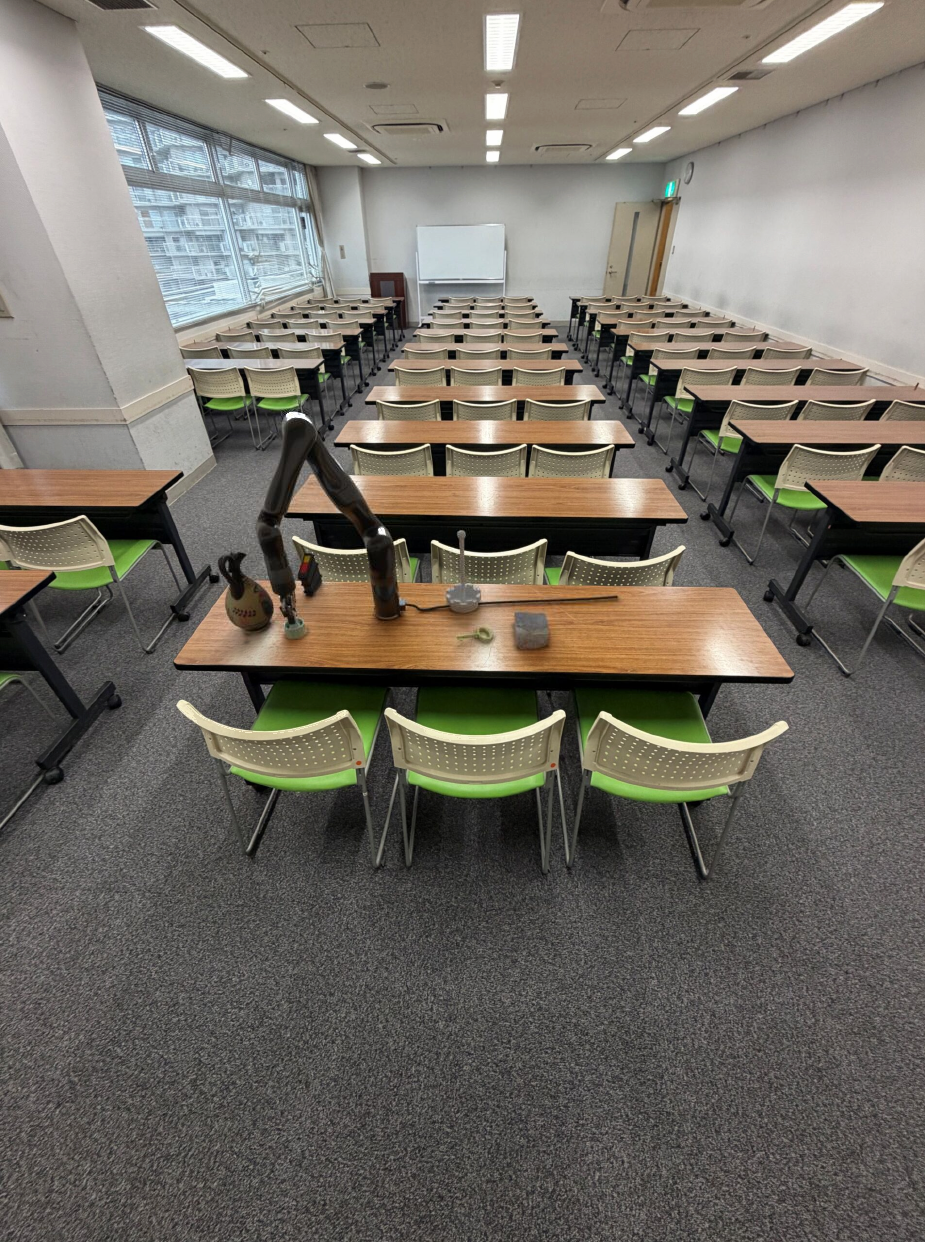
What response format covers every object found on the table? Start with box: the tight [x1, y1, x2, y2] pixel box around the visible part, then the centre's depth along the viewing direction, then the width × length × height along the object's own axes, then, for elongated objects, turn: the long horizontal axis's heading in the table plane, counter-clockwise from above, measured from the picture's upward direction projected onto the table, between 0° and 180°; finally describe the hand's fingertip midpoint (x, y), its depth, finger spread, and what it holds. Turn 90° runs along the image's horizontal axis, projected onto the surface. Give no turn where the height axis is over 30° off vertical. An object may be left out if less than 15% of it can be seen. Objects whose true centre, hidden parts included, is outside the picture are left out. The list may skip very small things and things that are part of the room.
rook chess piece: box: [289, 610, 301, 629], centre depth 176 cm, size 4×4×8 cm
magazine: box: [296, 552, 323, 597], centre depth 199 cm, size 4×13×15 cm, turn 173°
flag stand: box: [445, 530, 482, 614], centre depth 182 cm, size 13×13×30 cm
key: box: [456, 626, 493, 643], centre depth 173 cm, size 7×12×2 cm, turn 126°
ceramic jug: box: [217, 551, 275, 635], centre depth 174 cm, size 17×15×30 cm
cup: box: [283, 617, 307, 640], centre depth 178 cm, size 7×7×4 cm
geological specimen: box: [513, 611, 550, 650], centre depth 173 cm, size 11×6×15 cm
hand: (293, 620), depth 176 cm, fingers closed on rook chess piece, 3 cm apart
